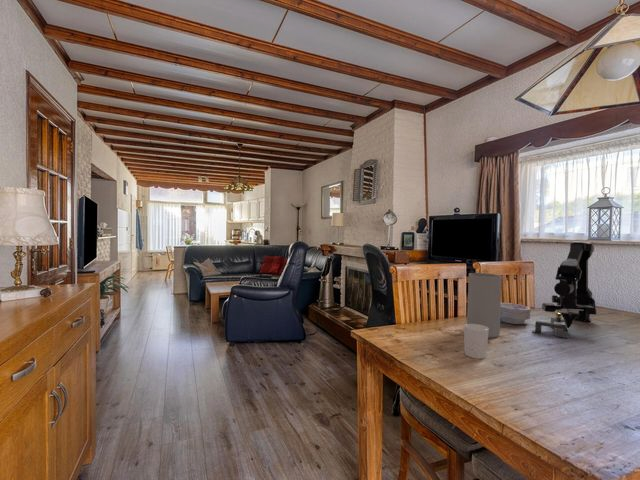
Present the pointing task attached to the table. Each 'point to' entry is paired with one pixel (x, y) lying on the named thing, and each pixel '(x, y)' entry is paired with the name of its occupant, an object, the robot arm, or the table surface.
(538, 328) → the keeper
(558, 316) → the pintle
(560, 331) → the link
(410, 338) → the table surface
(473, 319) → the tall grey block
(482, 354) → the white cup
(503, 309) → the paper bowls
